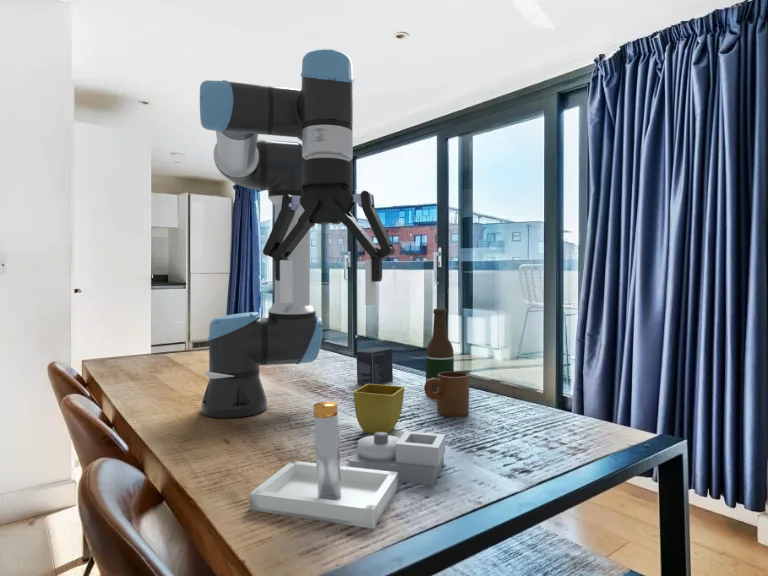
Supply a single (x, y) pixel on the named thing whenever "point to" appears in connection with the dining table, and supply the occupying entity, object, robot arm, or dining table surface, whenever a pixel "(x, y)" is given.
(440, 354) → the beer bottle
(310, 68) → the robot arm
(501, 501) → the dining table surface
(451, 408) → the mug
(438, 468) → the tensioner block
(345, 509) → the tray
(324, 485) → the pin
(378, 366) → the box
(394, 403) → the flower pot
